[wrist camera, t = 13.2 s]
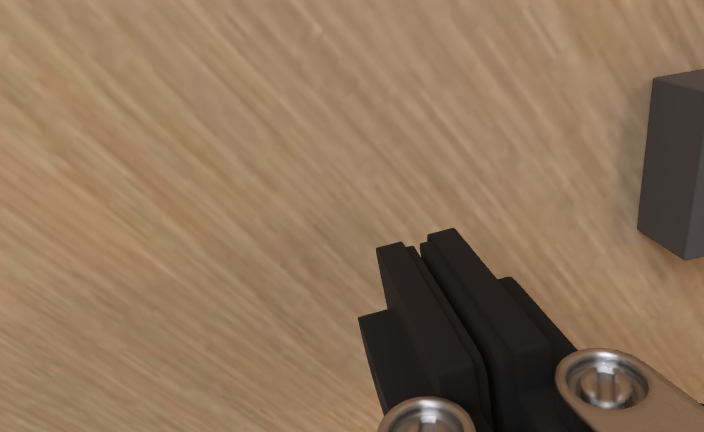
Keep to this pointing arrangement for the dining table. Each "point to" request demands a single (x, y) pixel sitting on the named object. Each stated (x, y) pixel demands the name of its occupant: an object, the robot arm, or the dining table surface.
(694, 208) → the remote
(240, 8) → the dining table surface
